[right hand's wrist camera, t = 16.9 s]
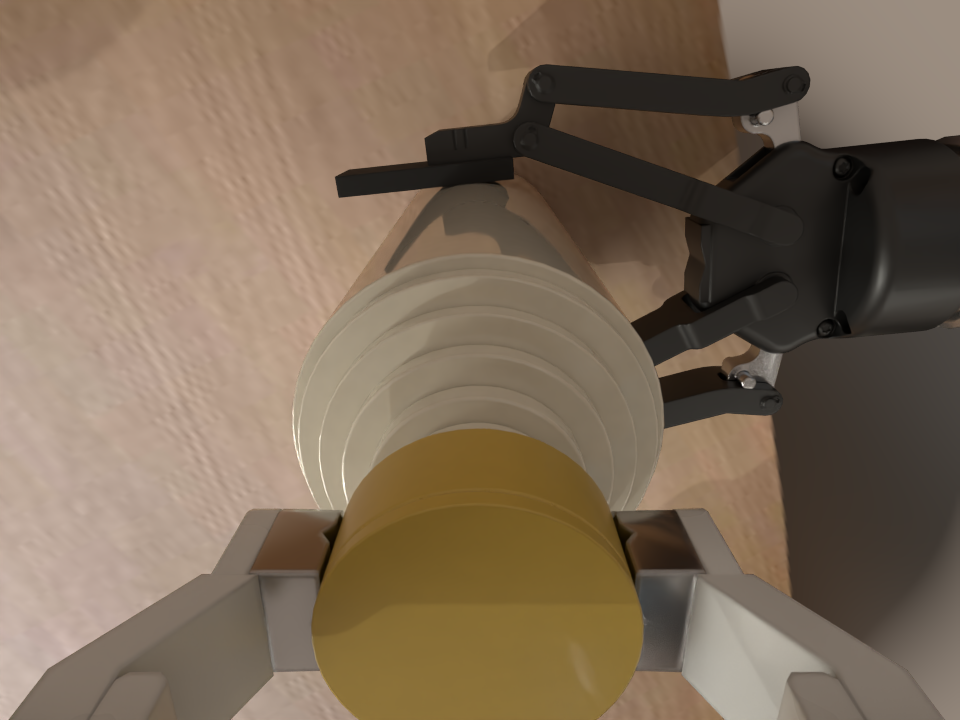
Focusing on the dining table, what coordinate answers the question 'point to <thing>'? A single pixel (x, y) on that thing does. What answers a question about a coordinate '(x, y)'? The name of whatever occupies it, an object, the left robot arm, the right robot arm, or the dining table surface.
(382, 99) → the dining table surface
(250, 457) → the dining table surface
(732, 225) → the left robot arm
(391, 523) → the cap
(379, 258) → the bottle
